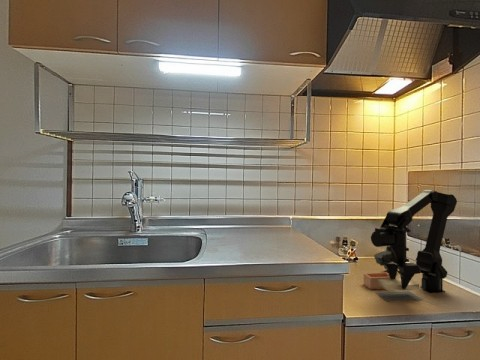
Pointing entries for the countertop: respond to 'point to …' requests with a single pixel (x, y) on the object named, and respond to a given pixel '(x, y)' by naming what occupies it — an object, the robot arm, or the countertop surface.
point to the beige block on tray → (396, 285)
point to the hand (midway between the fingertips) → (398, 285)
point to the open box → (374, 279)
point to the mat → (398, 296)
